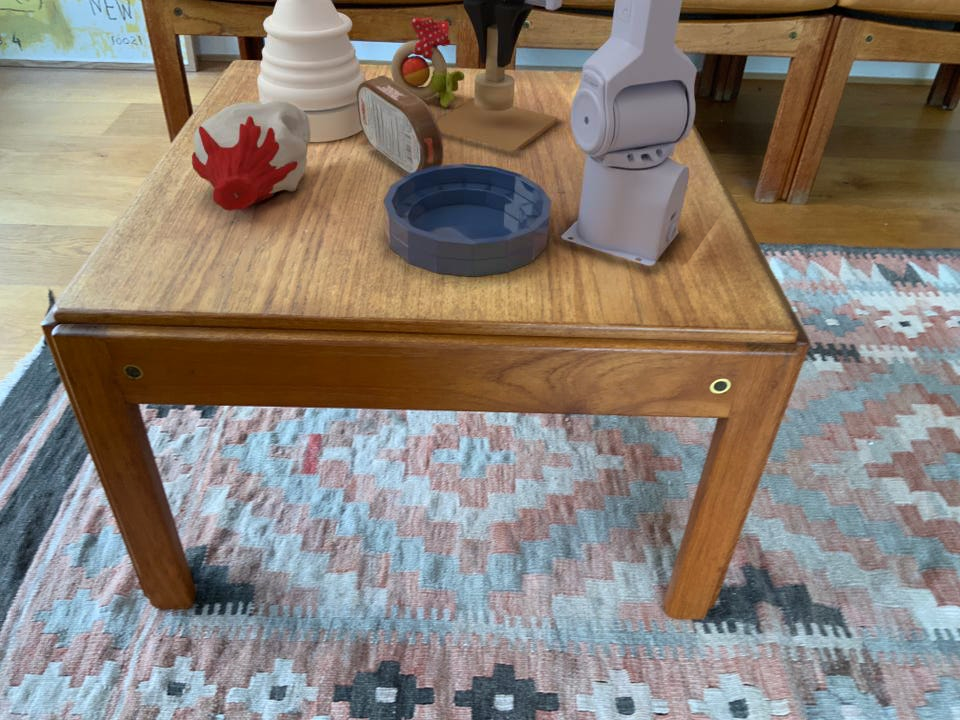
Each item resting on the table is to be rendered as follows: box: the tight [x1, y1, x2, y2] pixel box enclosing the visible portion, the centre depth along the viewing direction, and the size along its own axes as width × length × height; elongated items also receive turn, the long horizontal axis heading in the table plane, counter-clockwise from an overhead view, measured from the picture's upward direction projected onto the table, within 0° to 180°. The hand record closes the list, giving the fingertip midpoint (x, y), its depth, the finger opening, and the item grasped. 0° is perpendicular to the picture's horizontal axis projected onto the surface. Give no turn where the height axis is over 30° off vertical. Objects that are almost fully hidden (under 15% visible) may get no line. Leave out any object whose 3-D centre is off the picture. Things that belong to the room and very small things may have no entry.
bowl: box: [382, 163, 552, 278], centre depth 75 cm, size 16×16×4 cm
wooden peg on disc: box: [473, 24, 516, 111], centre depth 93 cm, size 5×5×9 cm
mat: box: [436, 98, 558, 152], centre depth 97 cm, size 12×12×1 cm
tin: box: [356, 75, 444, 174], centre depth 86 cm, size 15×3×8 cm, turn 34°
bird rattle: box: [390, 16, 465, 109], centre depth 100 cm, size 6×11×9 cm
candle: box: [191, 101, 311, 212], centre depth 79 cm, size 9×11×15 cm
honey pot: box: [256, 0, 367, 143], centre depth 91 cm, size 13×13×18 cm
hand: (496, 63), depth 92 cm, fingers closed on wooden peg on disc
